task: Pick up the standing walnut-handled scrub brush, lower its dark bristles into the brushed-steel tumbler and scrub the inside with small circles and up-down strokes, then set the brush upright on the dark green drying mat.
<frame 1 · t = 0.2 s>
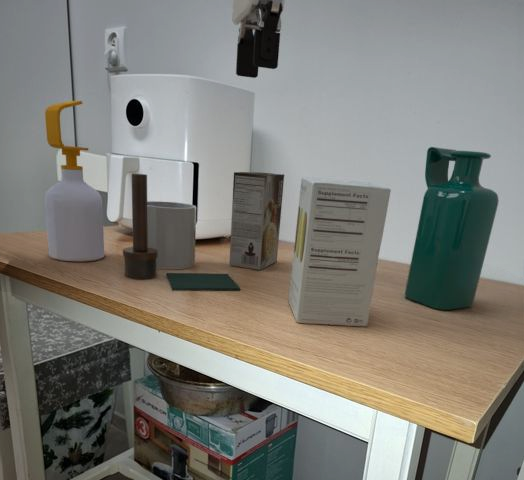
hand: (255, 72, 67), 30 cm above the table, tool pointing down, fingers open, 9 cm apart
brush: (140, 275, 76), on the table
soap bottle: (77, 257, 85), on the table
coffee box: (253, 265, 91), on the table
supplement box: (325, 315, 65), on the table
tumbler: (167, 263, 85), on the table
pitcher: (433, 301, 76), on the table
drying mat: (201, 282, 75), on the table
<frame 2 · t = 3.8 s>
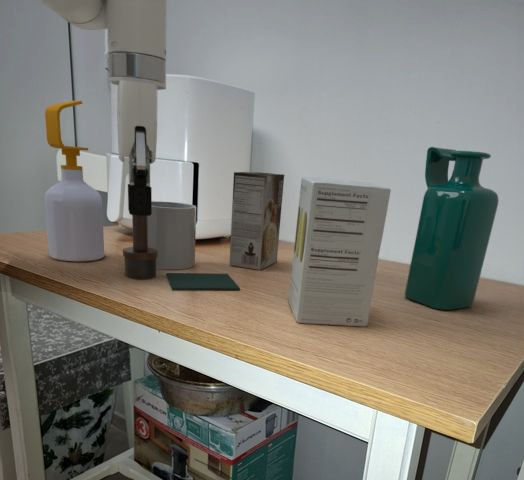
hand: (139, 212, 72), 10 cm above the table, tool pointing down, fingers closed on brush
brush: (140, 275, 76), on the table, touching gripper
everything else where it was.
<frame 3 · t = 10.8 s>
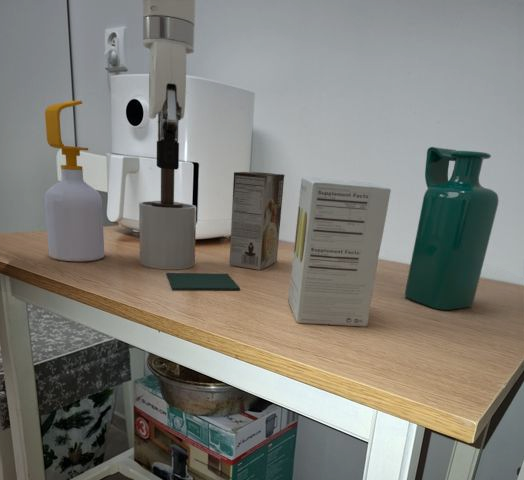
hand: (167, 167, 79), 16 cm above the table, tool pointing down, fingers closed on brush
brush: (167, 226, 83), point 6 cm above the table, touching gripper
everything else where it was.
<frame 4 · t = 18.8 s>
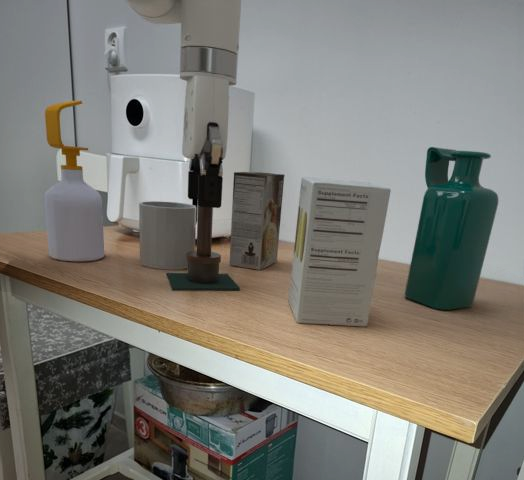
hand: (203, 203, 71), 12 cm above the table, tool pointing down, fingers open, 9 cm apart
brush: (202, 280, 75), resting on drying mat
everything else where it was.
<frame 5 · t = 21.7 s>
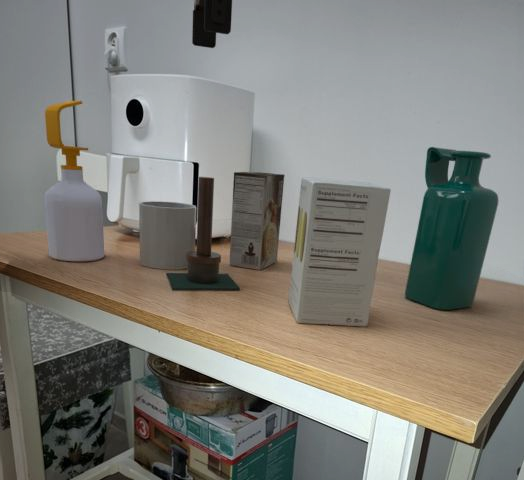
hand: (210, 39, 63), 32 cm above the table, tool pointing down, fingers open, 9 cm apart
nothing on the table moved.
at the end: brush 0.1 cm off-centre on the drying mat, point 0.4 cm above the drying mat's base; brush tilted 0°; brush touching drying mat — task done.
